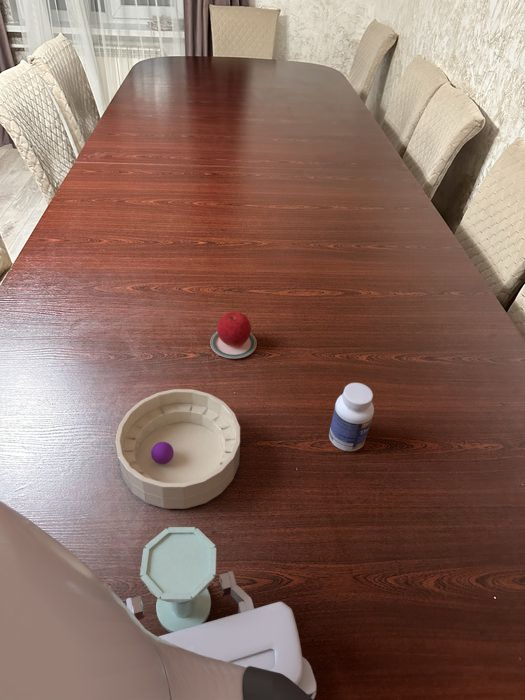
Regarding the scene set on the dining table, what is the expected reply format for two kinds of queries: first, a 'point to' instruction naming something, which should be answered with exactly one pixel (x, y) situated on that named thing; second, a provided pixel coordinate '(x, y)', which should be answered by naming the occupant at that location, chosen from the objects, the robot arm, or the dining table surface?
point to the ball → (162, 453)
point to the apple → (233, 337)
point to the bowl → (179, 448)
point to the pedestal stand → (180, 576)
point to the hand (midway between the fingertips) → (180, 586)
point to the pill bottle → (352, 417)
